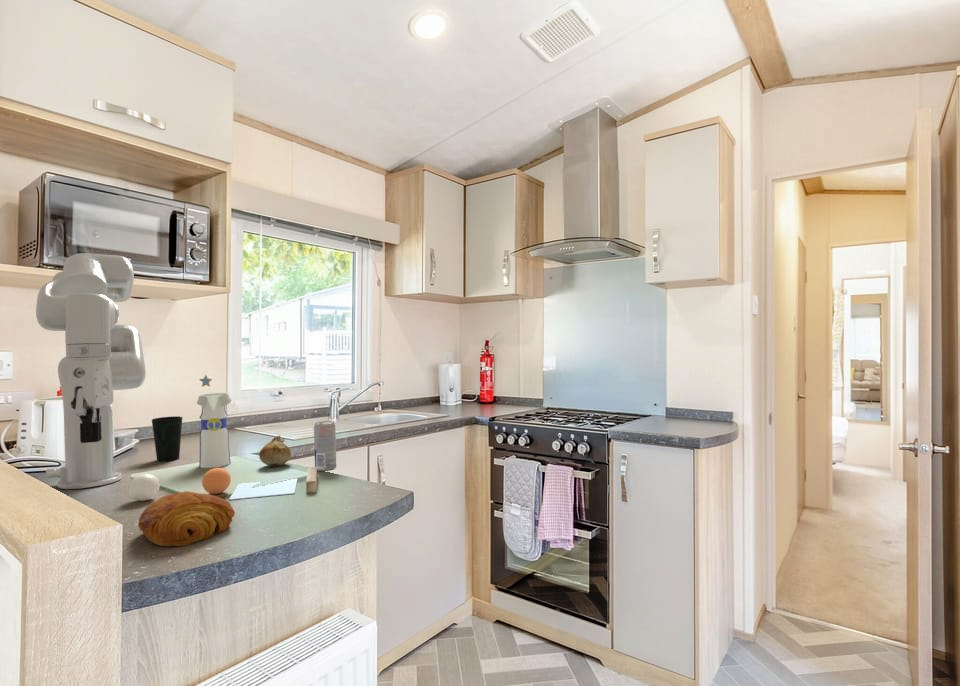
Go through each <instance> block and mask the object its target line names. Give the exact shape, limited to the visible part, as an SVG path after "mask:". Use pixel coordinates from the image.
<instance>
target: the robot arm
mask: <svg viewBox="0 0 960 686" xmlns="http://www.w3.org/2000/svg"><path fill="white" fill-rule="evenodd" d="M134 280H135V273H134V267H133V265H132V263H131V261H130V260H129V259H128V258H126V257H125V256H123V255H117V254H102V253H88V252H86V253H85V252H83V253H82V252H81V253H75V254H73V255H70V256H69V257H68V258H66V260H65V261H64V263H63V269H62V271H59V272H57V273H55V274H54V275H53V278H52V280H51V281H48V282H47V283H45V284H44V285H42V286H41V288H40V289H39V291H38V294H37V298H36V307H35V316H36V319H37V323H38V325H40V327H41V328H43V330H47V331H54V332H64V331H65V332H64V335H65V336H64V338H65V340H64V341H65V356H63V358H61V359H60V361H59V362H58V366H57V375H58V380H59V384H60V389H61V391H60V392H61V395H62V396H61V397H62V407H63V434H64V435H63V436H64V438H63V439H64V440H63V441H64V466H62V467H59V468H58V467H57V468H47V469H46V470H45V477H46V478H47V479H51V478H52V479H54V478H55V479H56V478H59V479H60V480H59V481H57V482H56V484H57V485H56V487H57V488H58V489H63V490H77V489H87V488H88V489H89V488H94V487H100V486H105V485H108V484H112V483H116V482H118V481H119V480H121V479H122V472H119V471H115V466H114V465H115V463H114V433H113V430H114V429H113V426H114V425H113V409H112V406H111V405H112V404H113V403H114V391H121V390H122V391H123V390H134V389H137V388H139V387H141V386H142V385H143V384H144V382H145V379H146V364H145V363H146V362H145V357H144V352H143V344H142V338H141V335H140V332H139V330H138V329H137V328H136V327H135V326H133V325H130V324H129V325H128V324H118V322H119V318H120V312H119V306H118V305H117V304H115V303H123V302H127V301H128V300H129V299H130V297H131V294H132V291H133V285H134Z"/></svg>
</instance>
